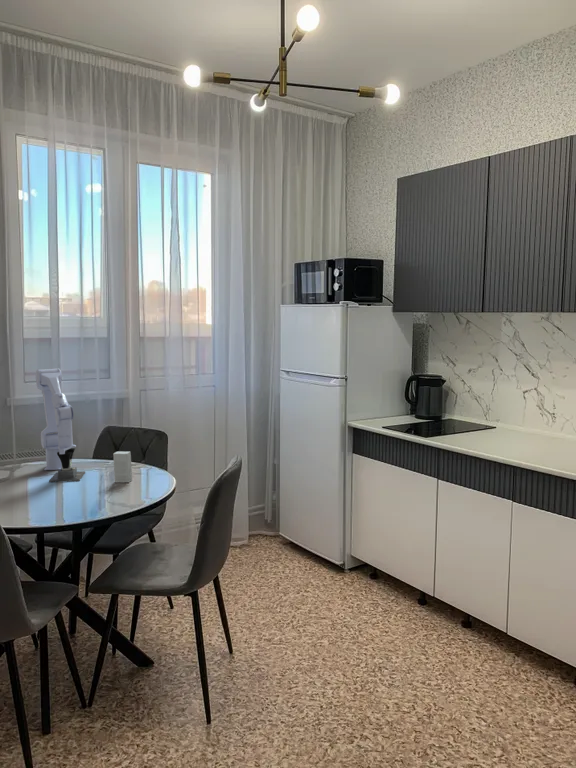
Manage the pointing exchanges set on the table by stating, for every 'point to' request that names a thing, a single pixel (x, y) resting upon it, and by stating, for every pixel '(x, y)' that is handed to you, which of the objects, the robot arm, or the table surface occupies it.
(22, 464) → the table surface
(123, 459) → the skincare box
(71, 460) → the column
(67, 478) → the stand base
